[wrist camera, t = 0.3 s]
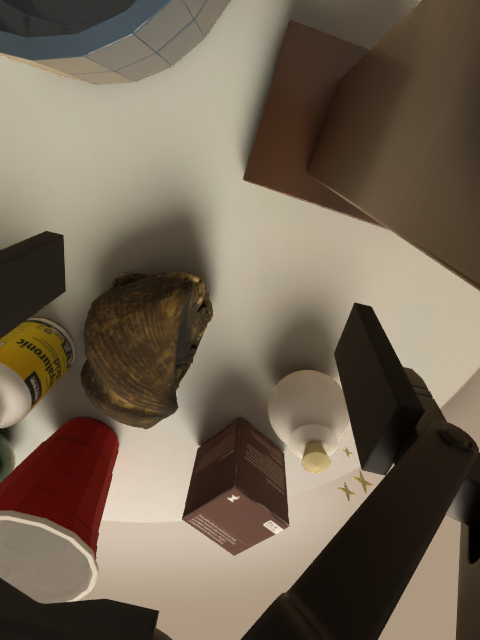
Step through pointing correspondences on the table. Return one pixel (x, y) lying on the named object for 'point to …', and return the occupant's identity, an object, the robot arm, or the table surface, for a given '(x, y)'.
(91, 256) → the table surface
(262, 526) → the box
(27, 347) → the supplement bottle
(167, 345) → the seashell
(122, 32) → the bowl
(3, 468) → the sphere
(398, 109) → the spoon stand
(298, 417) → the potion bottle
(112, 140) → the table surface
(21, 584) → the plastic cup
